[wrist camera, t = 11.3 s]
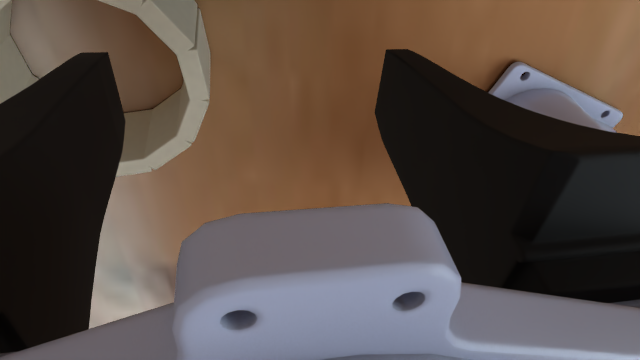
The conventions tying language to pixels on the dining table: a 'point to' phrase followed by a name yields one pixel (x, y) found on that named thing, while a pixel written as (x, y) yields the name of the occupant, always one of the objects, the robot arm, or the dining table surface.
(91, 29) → the dining table surface
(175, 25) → the ivory ring
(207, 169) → the dining table surface
